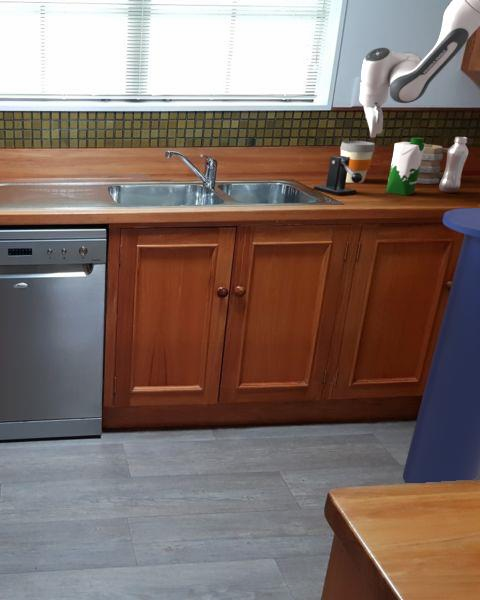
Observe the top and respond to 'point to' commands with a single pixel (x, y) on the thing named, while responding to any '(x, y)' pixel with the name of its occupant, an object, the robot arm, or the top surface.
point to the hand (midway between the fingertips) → (370, 128)
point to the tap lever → (351, 172)
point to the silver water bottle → (454, 166)
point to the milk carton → (405, 166)
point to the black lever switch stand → (336, 178)
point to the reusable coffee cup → (358, 157)
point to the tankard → (431, 164)
